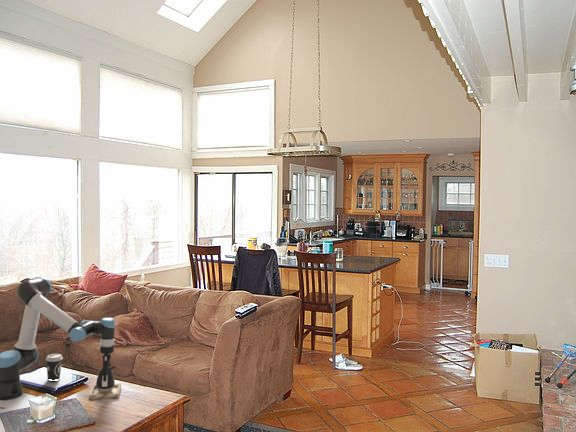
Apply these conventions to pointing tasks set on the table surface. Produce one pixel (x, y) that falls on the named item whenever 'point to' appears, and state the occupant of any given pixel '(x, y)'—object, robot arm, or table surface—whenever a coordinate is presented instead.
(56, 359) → the coffee cup
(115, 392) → the beige flat square tray
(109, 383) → the pump dispenser
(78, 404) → the table surface
